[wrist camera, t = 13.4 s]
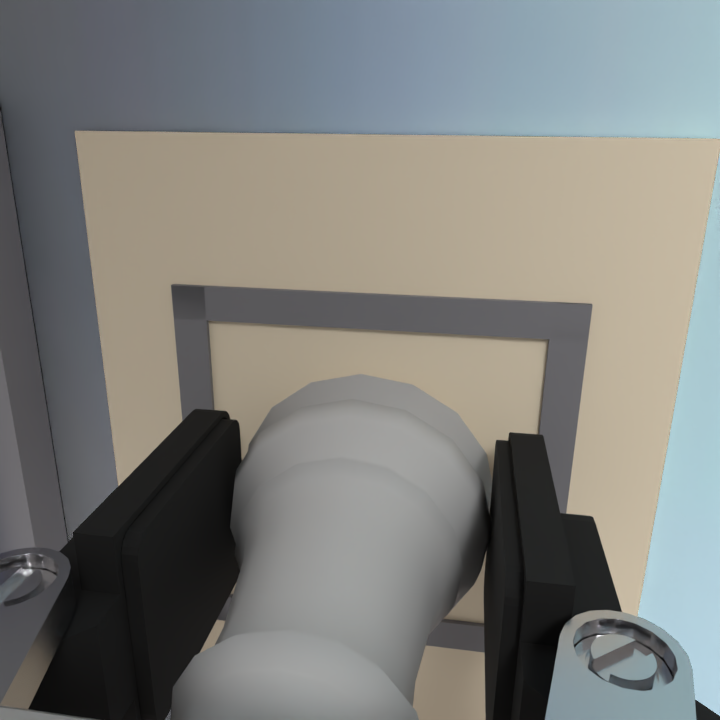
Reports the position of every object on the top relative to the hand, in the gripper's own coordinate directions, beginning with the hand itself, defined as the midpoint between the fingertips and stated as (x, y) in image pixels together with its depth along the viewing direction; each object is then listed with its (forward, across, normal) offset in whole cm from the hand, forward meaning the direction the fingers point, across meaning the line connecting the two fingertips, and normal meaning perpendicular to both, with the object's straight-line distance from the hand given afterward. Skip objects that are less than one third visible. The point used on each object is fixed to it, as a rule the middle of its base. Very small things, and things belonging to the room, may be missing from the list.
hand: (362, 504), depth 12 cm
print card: (+1, 0, 0) cm, 1 cm away
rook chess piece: (+1, 0, 0) cm, 1 cm away
